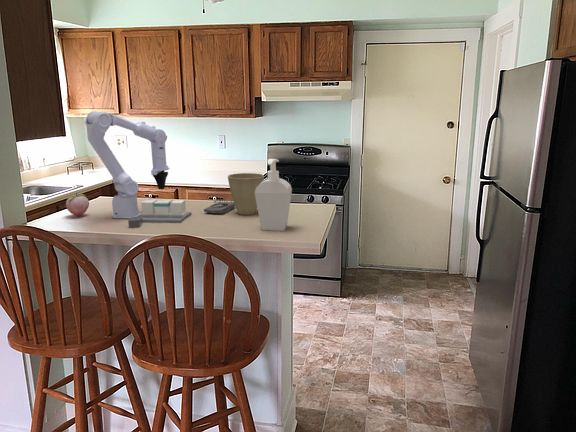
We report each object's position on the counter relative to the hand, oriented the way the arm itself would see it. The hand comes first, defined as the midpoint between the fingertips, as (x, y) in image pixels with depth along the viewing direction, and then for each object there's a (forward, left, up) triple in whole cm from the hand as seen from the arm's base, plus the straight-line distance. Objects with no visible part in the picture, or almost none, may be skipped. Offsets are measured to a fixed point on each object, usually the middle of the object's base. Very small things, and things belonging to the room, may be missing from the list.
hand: (161, 189), depth 207 cm
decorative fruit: (-32, -13, -10) cm, 36 cm away
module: (+6, -14, -7) cm, 17 cm away
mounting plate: (+6, -14, -9) cm, 18 cm away
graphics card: (+25, +1, -10) cm, 27 cm away
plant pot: (+38, -3, -10) cm, 39 cm away
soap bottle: (+53, -27, -10) cm, 60 cm away
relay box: (-1, -26, -10) cm, 28 cm away
